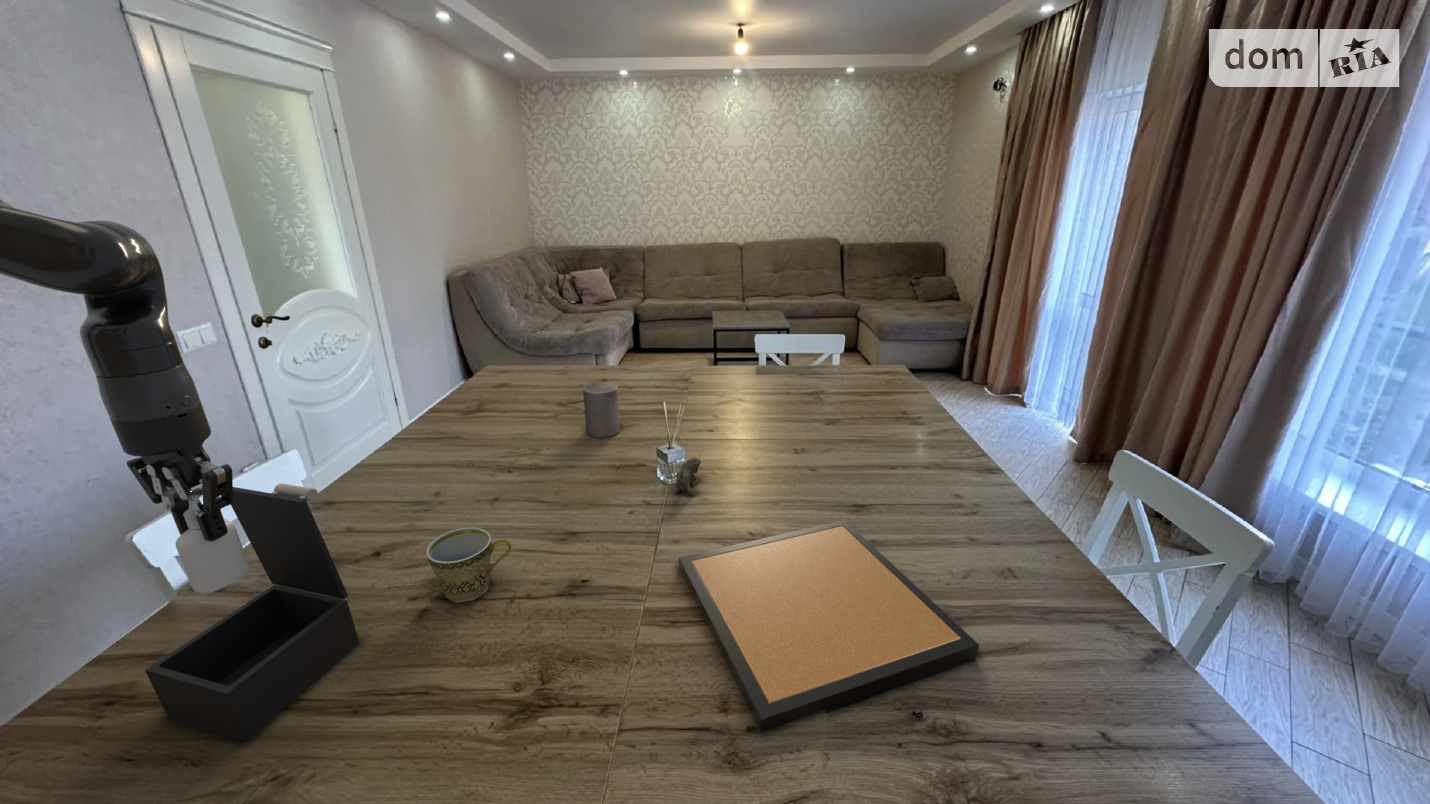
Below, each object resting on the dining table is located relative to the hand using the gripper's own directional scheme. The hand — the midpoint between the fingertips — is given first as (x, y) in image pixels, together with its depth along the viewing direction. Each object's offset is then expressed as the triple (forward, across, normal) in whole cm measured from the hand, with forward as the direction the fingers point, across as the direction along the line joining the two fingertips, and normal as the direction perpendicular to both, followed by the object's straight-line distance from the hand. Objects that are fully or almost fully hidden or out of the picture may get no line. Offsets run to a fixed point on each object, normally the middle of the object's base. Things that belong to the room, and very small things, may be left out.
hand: (205, 534), depth 68 cm
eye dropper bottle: (+7, 0, 0) cm, 7 cm away
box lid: (+7, 0, +8) cm, 11 cm away
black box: (+25, 0, +1) cm, 25 cm away
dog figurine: (+25, +41, +69) cm, 84 cm away
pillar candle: (+25, +7, +94) cm, 98 cm away
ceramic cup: (+25, +16, +25) cm, 39 cm away
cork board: (+25, +73, +35) cm, 85 cm away
